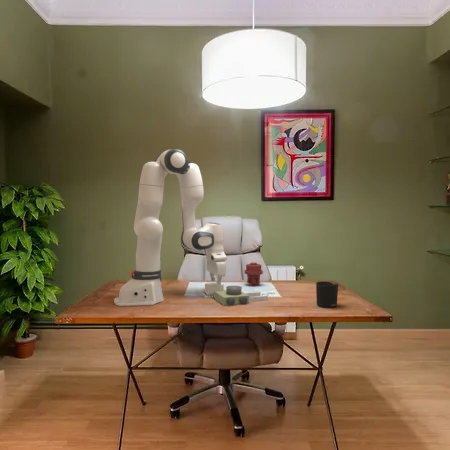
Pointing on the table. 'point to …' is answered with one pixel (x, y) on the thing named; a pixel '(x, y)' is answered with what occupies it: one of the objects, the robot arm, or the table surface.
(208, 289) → the chute
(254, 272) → the mechanical component
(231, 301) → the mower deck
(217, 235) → the robot arm
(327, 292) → the pen holder
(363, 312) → the table surface
